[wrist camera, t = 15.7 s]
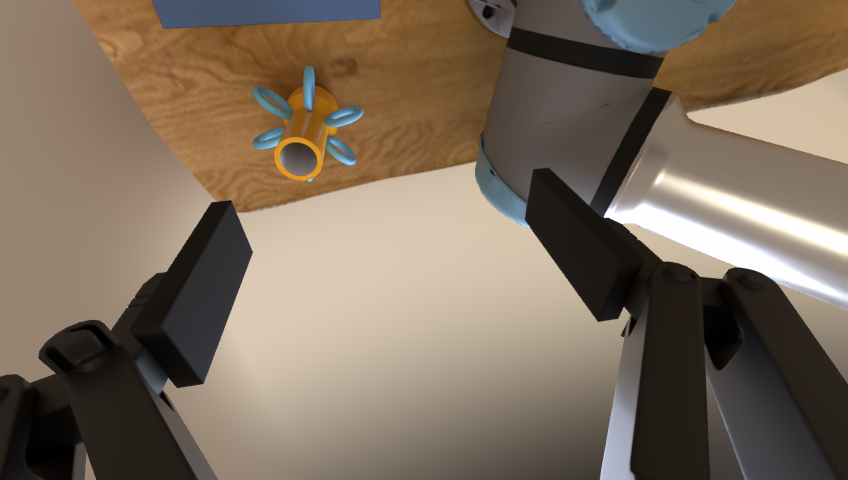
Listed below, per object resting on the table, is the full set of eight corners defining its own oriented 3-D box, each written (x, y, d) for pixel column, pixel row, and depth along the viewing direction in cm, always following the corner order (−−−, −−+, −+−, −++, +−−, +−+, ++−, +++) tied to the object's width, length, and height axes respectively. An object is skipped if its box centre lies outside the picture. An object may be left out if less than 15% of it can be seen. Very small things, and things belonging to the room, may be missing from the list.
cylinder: (380, 109, 44) (391, 156, 32) (332, 169, 47) (325, 232, 35) (291, 34, 38) (263, 57, 26) (243, 109, 41) (199, 161, 29)
